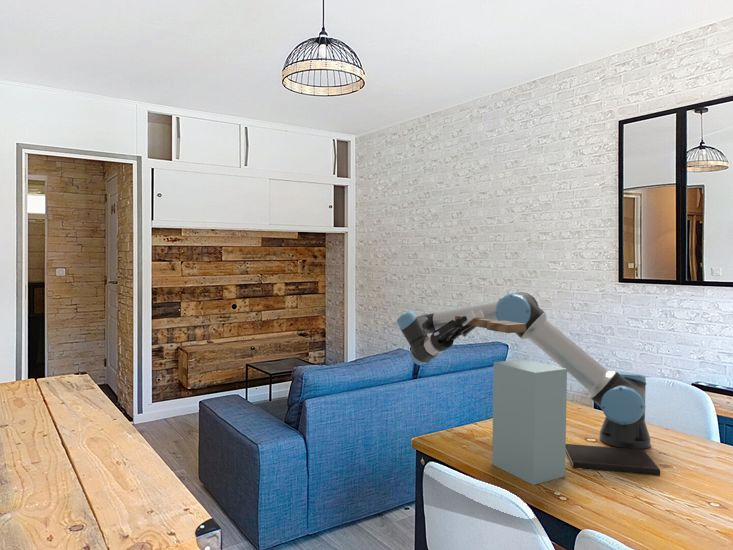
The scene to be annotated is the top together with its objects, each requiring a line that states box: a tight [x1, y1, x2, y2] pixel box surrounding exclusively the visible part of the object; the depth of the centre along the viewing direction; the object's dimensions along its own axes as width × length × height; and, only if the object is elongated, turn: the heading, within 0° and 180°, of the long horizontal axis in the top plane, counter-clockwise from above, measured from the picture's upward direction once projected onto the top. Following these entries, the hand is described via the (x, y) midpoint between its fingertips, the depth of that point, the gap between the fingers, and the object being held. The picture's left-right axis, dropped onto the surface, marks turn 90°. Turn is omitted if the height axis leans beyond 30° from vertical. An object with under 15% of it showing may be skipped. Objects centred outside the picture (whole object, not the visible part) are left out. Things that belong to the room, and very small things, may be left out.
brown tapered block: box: [455, 315, 526, 334], centre depth 166 cm, size 27×7×2 cm, turn 29°
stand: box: [491, 358, 568, 486], centre depth 151 cm, size 16×12×30 cm
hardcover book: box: [565, 443, 661, 477], centre depth 158 cm, size 16×23×2 cm
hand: (477, 313), depth 169 cm, fingers closed on brown tapered block, 3 cm apart
